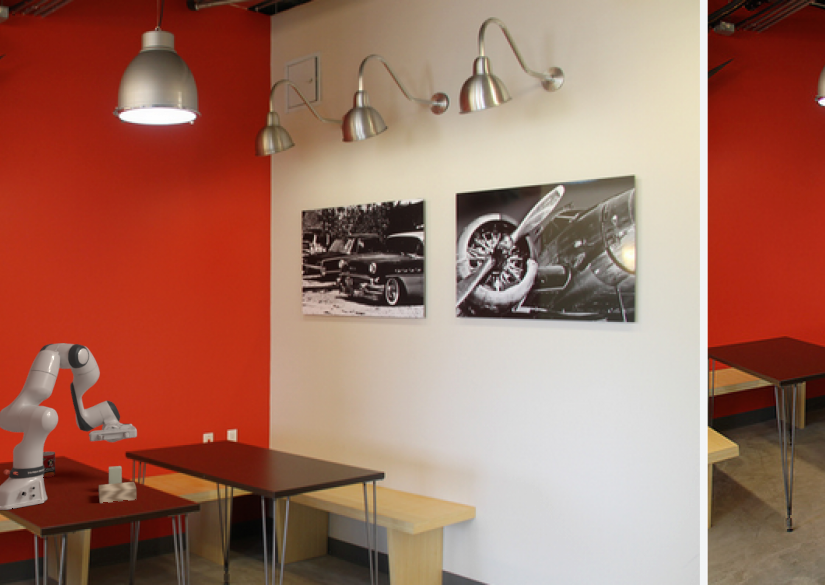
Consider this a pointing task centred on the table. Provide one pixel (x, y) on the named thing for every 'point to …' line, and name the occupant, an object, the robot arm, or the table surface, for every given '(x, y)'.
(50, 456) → the canned food
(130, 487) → the birch slab
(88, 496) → the table surface
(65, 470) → the table surface
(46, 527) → the table surface
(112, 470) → the sage block
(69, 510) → the table surface
